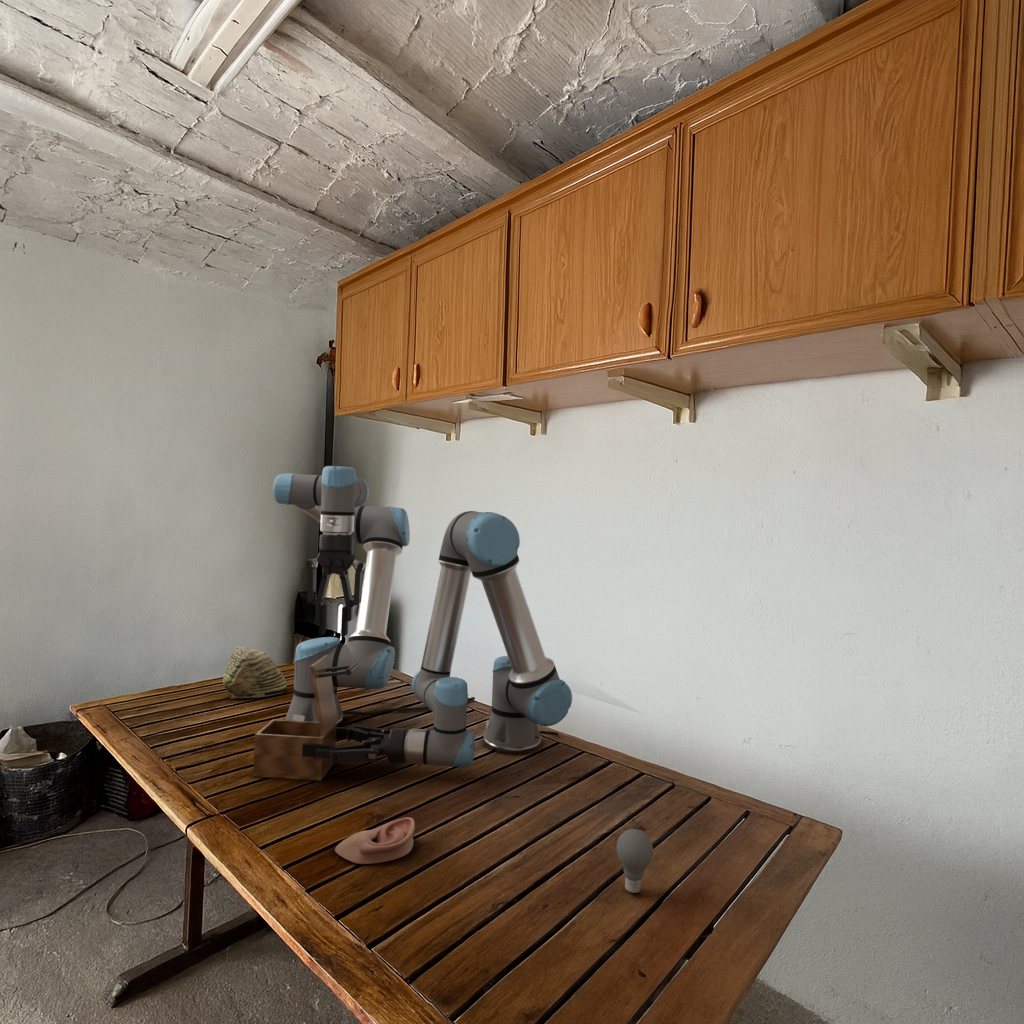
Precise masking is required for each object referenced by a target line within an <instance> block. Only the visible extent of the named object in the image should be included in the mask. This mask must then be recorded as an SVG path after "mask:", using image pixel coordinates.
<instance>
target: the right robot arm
mask: <svg viewBox="0 0 1024 1024" xmlns="http://www.w3.org/2000/svg"><path fill="white" fill-rule="evenodd" d="M520 538H521V537H520V533H519V530H518V529H517V526H516V525H515V524H514V523H513V522H512V520H511V519H509V518H508V517H506V516H504V515H502V514H499V513H498V512H493V511H485V512H484V511H475V510H467V511H463V512H461V513H459V514H457V515H456V516H455V517H453V518H452V519H451V520H450V522H449V523H448V525H447V527H446V529H445V532H444V534H443V539H442V543H441V546H440V550H439V551H440V552H439V556H438V563H439V565H440V572H439V575H438V576H439V577H438V582H437V586H436V592H435V596H434V601H433V606H432V611H431V615H430V621H429V625H428V631H427V636H426V639H425V646H424V651H423V655H422V659H421V665H420V670H419V671H418V672H416V674H415V675H414V676H413V678H412V680H411V690H412V693H413V694H414V695H415V697H416V699H417V700H418V701H419V702H421V703H423V704H424V705H425V707H428V708H429V710H430V711H431V712H432V713H433V725H432V726H433V729H432V730H431V729H426V728H425V729H422V728H410V729H408V728H400V727H394V728H393V727H392V729H390V728H382V727H381V728H380V727H375V726H374V727H373V726H369V725H364V724H358V723H353V724H352V726H347V727H343V726H342V727H341V726H337V727H336V741H337V740H338V741H340V740H341V741H347V742H349V741H352V740H353V741H355V742H358V743H351V744H344V745H336V746H335V745H334V744H331V745H329V744H310V743H304V744H303V749H302V756H303V757H321V758H331V763H334V764H345V763H347V764H348V763H362V762H363V763H364V762H368V763H377V762H378V757H382V756H386V757H387V761H388V763H390V764H404V763H405V762H406V763H407V764H410V765H411V764H412V765H416V766H418V767H420V766H421V765H430V766H442V767H451V768H454V767H456V768H457V767H458V768H459V767H462V768H463V767H470V766H471V765H472V764H473V762H474V758H475V746H476V735H475V733H474V732H472V731H468V730H467V717H468V702H469V701H468V698H469V692H468V683H467V681H466V679H463V678H459V677H456V676H451V674H452V673H451V672H452V668H453V667H452V666H453V662H454V657H455V651H456V647H457V643H458V642H457V641H458V638H459V632H460V627H461V622H462V617H463V614H464V608H465V605H466V604H465V603H466V598H467V595H468V594H467V593H468V589H469V583H470V579H471V575H472V577H473V578H474V579H476V580H479V581H481V584H482V587H483V590H484V592H485V595H486V598H487V601H488V603H489V606H490V610H491V612H492V615H493V618H494V620H495V624H496V627H497V629H498V632H499V635H500V638H501V641H502V644H503V646H504V649H505V652H506V655H503V656H499V657H497V658H495V660H494V661H493V666H492V667H493V668H492V689H491V713H490V716H489V718H488V719H486V722H485V723H486V724H485V726H486V727H485V729H484V732H483V741H482V743H483V745H484V746H485V747H486V748H487V749H489V750H492V751H494V752H498V753H502V754H507V755H508V754H509V755H520V754H521V755H522V754H528V753H532V752H534V751H537V750H538V749H540V747H541V746H542V745H541V744H542V735H549V736H559V732H558V731H550V730H540V727H539V726H541V727H552V726H555V725H557V724H558V723H560V722H562V720H564V719H565V718H566V716H567V715H568V713H569V709H571V708H572V707H571V706H572V703H573V693H572V689H571V688H570V686H569V684H567V682H566V681H564V680H563V679H561V678H560V676H559V673H558V671H557V667H556V664H555V662H554V660H553V659H552V658H550V657H547V656H546V654H545V652H544V648H543V646H542V642H541V640H540V637H539V635H538V631H537V629H536V625H535V621H534V618H533V616H532V613H531V610H530V607H529V604H528V601H527V599H526V595H525V593H524V589H523V586H522V583H521V580H520V578H519V574H518V572H517V567H518V565H519V564H520V557H519V553H518V550H519V548H520V544H521V541H520ZM467 701H468V702H467ZM557 732H558V733H557Z"/></svg>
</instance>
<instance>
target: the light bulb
mask: <svg viewBox="0 0 1024 1024" xmlns="http://www.w3.org/2000/svg"><path fill="white" fill-rule="evenodd" d="M615 849H616V854H617V857H618V859H619V861H620V863H621V865H622V867H623V873H624V874H623V875H624V876H625V878H624V888H625V890H627V891H628V892H630V893H634V894H635V893H639V892H640V891H641V889H642V887H641V886H642V879H643V877H644V875H645V871H646V868H647V867H648V866H649V864H650V863H651V861H652V859H653V855H654V847H653V843H652V841H651V838H649V836H648V835H647V834H646V833H645V832H643V831H642V830H641V829H636V828H629V829H627V830H625V831H623V832H622V833H621V834H620V835H619V837H618V839H617V841H616V847H615Z"/></svg>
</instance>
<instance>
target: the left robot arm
mask: <svg viewBox="0 0 1024 1024" xmlns="http://www.w3.org/2000/svg"><path fill="white" fill-rule="evenodd" d="M370 490H371V489H370V487H369V484H368V483H367V481H366V480H364V479H363V478H361V477H359V476H357V470H356V469H355V467H352V466H340V465H339V466H338V465H326V466H324V467H323V469H322V473H321V474H305V473H303V474H302V473H293V472H290V473H280V474H278V475H277V476H276V477H275V478H274V481H273V486H272V495H273V498H274V500H275V501H276V503H277V504H280V505H286V506H289V505H290V506H291V505H293V506H296V507H297V508H299V509H300V510H301V511H302V512H304V513H305V514H307V515H308V516H309V517H311V518H313V519H314V520H315V521H317V522H318V523H319V525H320V526H319V530H320V532H321V534H320V535H319V552H318V555H317V556H316V557H315V558H313V559H312V558H311V559H307V560H306V561H305V566H306V569H307V591H306V592H307V594H306V595H307V596H306V600H307V603H308V604H312V605H314V607H315V610H314V611H315V612H314V616H315V618H314V619H315V620H316V621H318V636H324V635H325V634H326V632H327V606H328V605H327V604H325V600H326V599H325V598H326V595H327V591H328V588H329V584H330V580H331V577H332V575H333V574H334V575H338V576H339V579H340V584H341V589H342V594H343V599H344V600H343V601H344V604H345V606H343V607H342V608H341V626H340V627H341V628H340V629H341V631H340V632H341V633H340V636H341V637H346V636H348V634H349V622H351V621H352V620H353V613H354V607H355V606H358V610H357V611H358V612H357V619H356V623H355V624H356V625H355V631H354V632H353V633H352V634H350V635H349V636H348V641H347V643H345V644H344V643H341V641H340V638H338V637H334V636H324V637H315V638H312V639H307V640H304V641H302V642H300V643H298V644H297V645H296V648H295V655H294V659H293V662H294V672H293V695H292V696H293V697H292V699H291V702H290V704H289V708H288V711H287V713H286V715H285V720H296V721H313V722H319V720H318V714H317V707H316V701H315V694H314V688H313V682H312V675H311V669H310V666H311V665H313V664H314V663H315V662H317V661H318V660H319V659H321V658H322V657H323V656H325V655H328V658H329V664H330V668H333V667H340V666H347V665H352V664H353V663H358V665H359V667H358V668H357V669H356V670H355V671H354V672H353V673H352V674H351V675H346V674H342V675H335V676H331V677H332V684H333V690H334V696H335V703H336V709H337V716H338V721H337V722H336V727H340V725H342V723H343V722H344V715H354V716H355V715H356V716H372V715H378V714H384V713H389V712H415V711H416V712H417V711H429V710H430V709H429V708H428V707H427V706H413V707H391V708H383V709H378V710H373V711H372V710H371V711H357V710H343V709H342V706H341V702H340V699H339V695H338V688H348V689H366V690H380V689H383V688H384V687H385V686H386V685H387V684H388V683H389V681H390V678H391V677H392V676H391V675H392V673H393V670H394V664H395V657H396V650H395V647H394V646H392V645H391V640H390V638H389V637H388V636H387V629H388V620H389V613H390V606H391V600H392V591H393V583H394V578H395V577H394V576H395V570H396V561H397V557H398V556H400V555H402V553H403V547H408V546H409V545H410V538H411V537H410V536H411V535H410V533H411V532H410V522H409V521H410V520H409V516H408V513H407V511H406V509H405V508H402V507H395V506H375V505H374V506H373V505H364V504H365V503H367V501H368V499H369V497H370V493H371V492H370ZM354 544H359V545H362V549H363V550H364V551H365V553H366V560H365V561H360V560H358V559H356V556H355V554H354ZM318 565H320V568H321V569H322V574H321V580H320V583H319V587H318V591H317V568H318ZM352 565H353V569H354V570H355V571H354V573H355V574H354V586H353V593H352V587H351V583H350V574H349V569H350V568H351V567H352ZM345 670H347V669H344V670H337V671H331V672H338V671H345ZM475 700H476V697H475V696H471V697H468V701H467V703H468V702H471V701H475Z"/></svg>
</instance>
